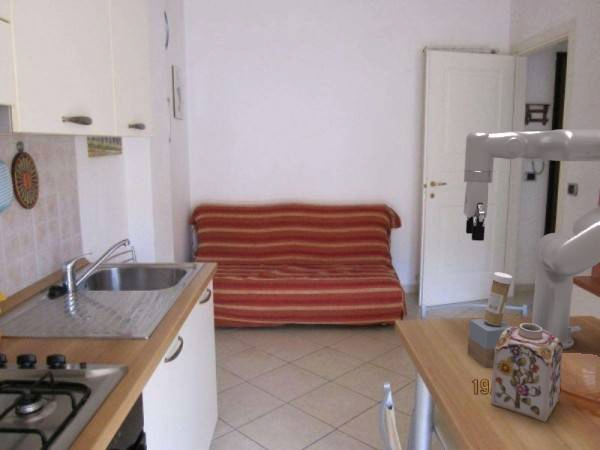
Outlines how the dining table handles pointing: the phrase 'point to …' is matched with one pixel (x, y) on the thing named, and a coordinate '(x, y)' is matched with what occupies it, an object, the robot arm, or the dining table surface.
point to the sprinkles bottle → (497, 298)
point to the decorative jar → (527, 371)
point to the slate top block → (486, 333)
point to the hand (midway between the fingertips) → (474, 236)
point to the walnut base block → (481, 354)
